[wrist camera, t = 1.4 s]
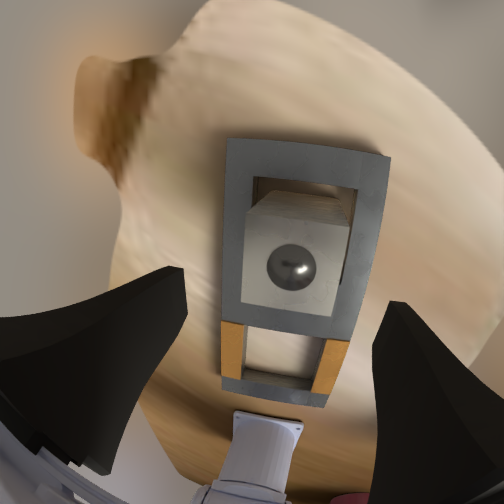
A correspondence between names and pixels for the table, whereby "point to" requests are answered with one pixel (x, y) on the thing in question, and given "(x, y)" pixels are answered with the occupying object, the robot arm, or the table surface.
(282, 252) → the grey rectangular block
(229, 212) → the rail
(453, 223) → the table surface
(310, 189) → the table surface
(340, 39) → the table surface
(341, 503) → the plant pot
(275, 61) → the table surface
